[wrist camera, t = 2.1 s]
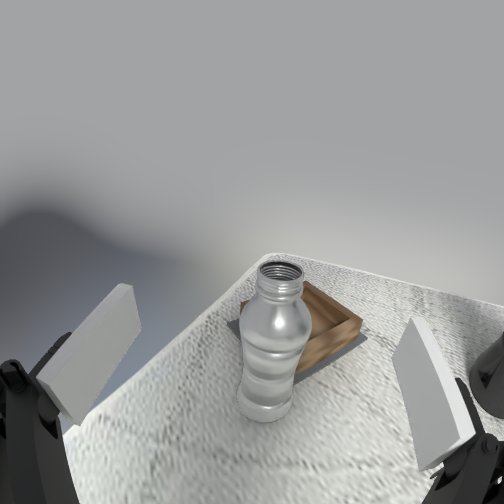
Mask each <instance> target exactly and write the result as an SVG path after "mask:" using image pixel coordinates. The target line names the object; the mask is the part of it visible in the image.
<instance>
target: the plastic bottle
mask: <svg viewBox="0 0 504 504" xmlns="http://www.w3.org/2000/svg"><path fill="white" fill-rule="evenodd" d="M303 278H304V272H303V269H302V268H301V267H300V266H298V265H297V264H294V263H292V262H288V261H283V260H271V261H266V262H264V263H262V264H260V265H259V267H258V270H257V281H256V292H257V294H255V295H254V296H253V297H252V298H251V299H250V300H249V302H248V303H247V304H246V305H245V306H244V308H243V311H242V313H241V315H240V318H239V328H240V335H241V341H242V347H243V361H244V362H243V366H244V368H243V373H242V379H241V382H240V384H239V387H238V391H237V402H238V406H239V408H240V410H241V412H242V413H243V414H244V415H245V416H246V417H247V418H249V419H251V420H253V421H256V422H261V423H269V422H274V421H277V420H279V419H281V418H282V417H283V416H285V414H286V413H287V412H288V410H289V409H290V407H291V405H292V402H293V380H294V373H295V371H296V367H297V365H298V362H299V358H300V356H301V354H302V352H303V350H304V348H305V345H306V343H307V341H308V339H309V336H310V333H311V330H312V320H311V315H310V312H309V310H308V309H307V307H306V305H305V303H304V302H303V300H302V299H301V298H300V297H301V296H302V294H303Z"/></svg>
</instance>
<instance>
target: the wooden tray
mask: <svg viewBox="0 0 504 504" xmlns="http://www.w3.org/2000/svg"><path fill="white" fill-rule="evenodd" d="M300 298H301V299H302V300H303V302H304V303H305V305H306V307H307V309H308V310H309V312H310V315H311V320H312V330H311V333H310V336H309V339H308V341H307V343H306V345H305V348H304V350H303V352H302V354H301V356H300V358H299V362H298V365H297V367H296V371H295V373H294V376H295V375H297V374H299V373H301V372H303V371H305V370H306V369H308V368H310V367H312V366H313V365H315V364H317V363H319V362H320V361H322V360H324V359H326V358H327V357H329V356H331V355H332V354H334V353H335V352H337V351H339V350H340V349H342V348H344V347H345V346H347V345H348V344H350V343H351V342H353V341H355V340H356V339H357V336H358V334H359V331H360V328H361V325H362V322H363V319H361V318H360V317H358V316H357V315H356V314H354V313H353V312H351V311H350V310H348V309H347V308H345V307H344V306H343V305H341V304H340V303H338V302H337V301H335V300H334V299H332V298H331V297H329V296H328V295H326V294H325V293H324V292H322V291H321V290H319V289H318V288H316V287H315V286H313V285H312V284H310V283H309V282H307V281H304V282H303V294H302V296H301V297H300ZM248 302H249V300H247V301H244V302H241V311H240V315H241V313H242V311H243V308H244V306H245V305H246V304H247V303H248Z"/></svg>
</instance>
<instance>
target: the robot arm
mask: <svg viewBox="0 0 504 504" xmlns="http://www.w3.org/2000/svg"><path fill="white" fill-rule="evenodd" d="M141 330H142V328H141V324H140V320H139V315H138V311H137V306H136V301H135V297H134V292H133V287H132V285H126V284H121V283H119V284H118V285H117V286H116V287H115V288H114V290H112V291H111V293H109V295H108V296H107V297H106V298H105V299H104V300H103V301H102V302H101V303H100V304H99V305H98V306H97V307H96V308H95V309H94V310H93V311H92V313H91V314H90V315H89V316H88V317H87V318H86V319H85V320H84V321H83V322H82V323H81V325H80V326H79V327H78V328H77V329H76V330H75V331H74V332H73V333H71V332H68V333H66V334H65V335H63V336H61V337H60V338H59V339H58V340H57V341H56V342H55V344H54V345H53V347H51V348H50V349H49V350H48V353H46V354H45V355H44V356H43V357H42V358H41V360H40V361H39V362H38V363H37V364H36V366H35V367H34V368H33V369H32V371H31V372H30V373H29V374H28V375H27V373H26V372H25V370H24V368H23V367H22V365H21V364H20V362H19V361H17V360H8V361H5V362H4V363H3V364H1V366H0V504H80V503H79V500H78V497H77V494H76V491H75V487H74V484H73V481H72V477H71V473H70V469H69V465H68V461H67V457H66V452H65V447H64V442H63V437H62V431H61V425H60V420H59V417H58V414H59V413H60V412H61V413H62V414H63V416H64V417H65V418H66V419H67V420H69V421H70V422H72V423H74V424H76V425H78V426H80V425H81V424H82V422H83V420H84V419H85V417H86V415H87V414H88V412H89V410H90V409H91V407H92V405H93V404H94V402H95V400H96V399H97V397H98V396H99V394H100V392H101V391H102V389H103V388H104V386H105V384H106V383H107V381H108V380H109V378H110V376H111V375H112V373H113V372H114V370H115V369H116V367H117V366H118V364H119V363H120V361H121V360H122V358H123V356H124V355H125V354H126V352H127V351H128V349H129V348H130V346H131V344H132V343H133V341H134V340H135V339H136V337H137V336H138V334H139V333H140V331H141ZM391 359H392V362H393V365H394V368H395V372H396V375H397V378H398V382H399V385H400V389H401V392H402V396H403V400H404V404H405V407H406V411H407V415H408V419H409V424H410V428H411V432H412V437H413V442H414V446H415V451H416V457H417V462H418V468H419V472H420V471H424V470H428V469H432V468H435V467H436V466H438V465H439V464H440V463H442V462H443V464H444V467H443V468H441V469H440V470H438V471H437V472H436V473H434V474H433V475H432V476H431V477H430V479H433V478H434V477H436V476H437V475H438V476H437V477H436V479H435V480H434V483H433V485H432V487H431V488H430V490H429V492H428V494H427V495H426V497H425V499H424V500H423V502H422V504H504V441H498V440H497V438H496V437H495V436H494V435H492V434H489V433H485V431H484V428H483V425H482V423H481V420H480V417H479V415H478V412H477V409H476V407H475V405H474V404H473V403H474V402H473V400H472V397H470V393H469V390H468V388H467V386H466V385H465V383H464V382H463V381H462V380H461V379H460V378H454V376H453V374H452V372H451V370H450V367H449V365H448V363H447V361H446V359H445V357H444V355H443V353H442V351H441V349H440V347H439V345H438V343H437V341H436V339H435V337H434V335H433V333H432V331H431V329H430V327H429V326H428V324H427V322H426V320H425V318H424V317H411V318H410V320H409V322H408V324H407V327H406V329H405V331H404V333H403V336H402V338H401V340H400V342H399V344H398V346H397V348H396V350H395V352H394V354H393V356H392V358H391ZM470 385H471V389H472V392H473V394H474V396H475V398H476V400H477V401H478V403H479V404H480V405H481V406H482V408H483V409H484V410H486V411H487V412H488V413H489V414H491V415H493V416H494V417H497V418H500V419H504V332H503V334H502V336H501V337H500V338H499V339H498V340H497V341H496V342H495V343H494V344H492V345H491V346H490V347H489V348H488V349H487V350H486V351H485V352H483V353H482V354H481V355H480V356H479V358H478V359H477V361H476V362H475V364H474V365H473V367H472V369H471V372H470ZM501 476H502V481H501V483H499V484H498V478H500V477H501Z"/></svg>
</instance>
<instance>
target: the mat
mask: <svg viewBox="0 0 504 504" xmlns="http://www.w3.org/2000/svg"><path fill="white" fill-rule="evenodd" d="M227 325H228V326H229V328H230V329H231V330H232V331H233V332H234V334H235V335H236V336H237V337H238V338H239V340H240V341H241V335H240V328H239V319H237V320H234V321H231V322H228V323H227ZM367 338H368V337H366V336H365V335H364V334H362V333H361V332H359V334H358V336H357V339H356V340H355V341H353V342H351V343H350V344H348V345H347V346H345V347H344V348H342V349H340V350H339V351H337V352H335V353H334V354H332V355H331V356H329V357H327V358H326V359H324V360H322V361H320V362H319V363H317V364H315V365H313V366H312V367H310V368H308V369H306V370H305V371H303V372H301V373H299V374H297V375H295V376H294V380H293V385H294V384H296V383H298V382H300V381H301V380H303V379H305V378H307V377H309V376H310V375H312V374H314V373H315V372H317V371H319V370H320V369H322V368H324V367H325V366H327V365H329V364H330V363H332V362H334V361H335V360H337V359H338V358H340V357H341V356H343V355H345V354H346V353H348V352H349V351H351V350H352V349H354V348H355V347H357V346H358V345H360V344H361V343H362V342H364V341H365V340H367ZM241 342H242V341H241Z"/></svg>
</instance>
